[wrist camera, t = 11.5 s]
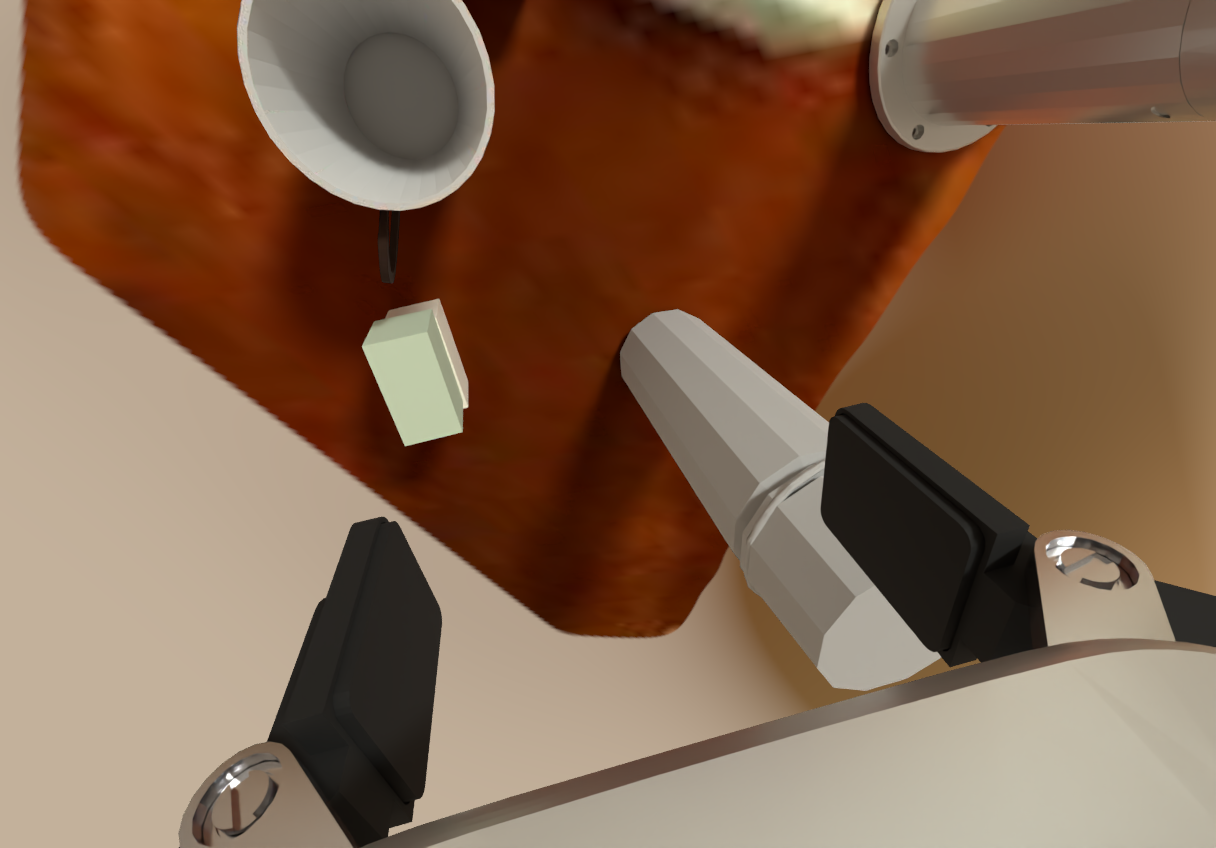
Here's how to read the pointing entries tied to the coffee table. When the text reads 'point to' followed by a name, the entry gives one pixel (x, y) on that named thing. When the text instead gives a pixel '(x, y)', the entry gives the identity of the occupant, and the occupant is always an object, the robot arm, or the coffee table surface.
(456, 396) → the sage brick
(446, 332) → the cream brick
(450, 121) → the coffee mug
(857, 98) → the coffee table surface
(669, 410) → the water bottle
